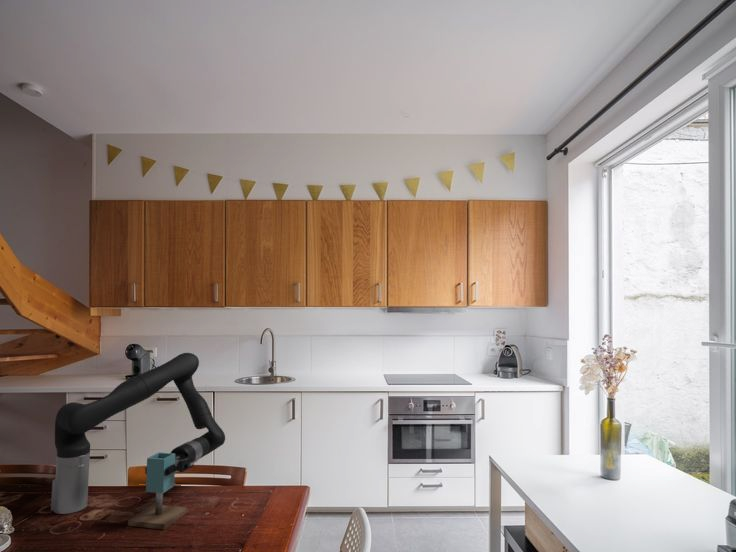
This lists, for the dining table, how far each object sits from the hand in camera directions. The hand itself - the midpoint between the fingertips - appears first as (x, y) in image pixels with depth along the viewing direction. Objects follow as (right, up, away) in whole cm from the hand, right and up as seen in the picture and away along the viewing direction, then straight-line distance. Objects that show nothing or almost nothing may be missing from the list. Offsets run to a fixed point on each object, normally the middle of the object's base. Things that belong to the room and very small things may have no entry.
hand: (156, 471), depth 146 cm
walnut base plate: (0, -15, +1) cm, 15 cm away
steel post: (0, -14, +1) cm, 14 cm away
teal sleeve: (0, -6, +2) cm, 6 cm away
